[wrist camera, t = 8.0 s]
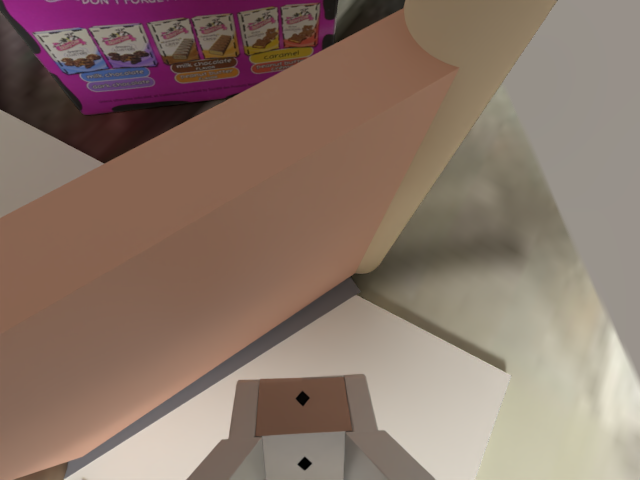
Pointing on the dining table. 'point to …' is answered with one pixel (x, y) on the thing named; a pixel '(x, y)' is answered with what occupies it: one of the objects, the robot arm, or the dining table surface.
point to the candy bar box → (167, 46)
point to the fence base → (48, 473)
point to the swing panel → (233, 222)
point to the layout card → (284, 361)
